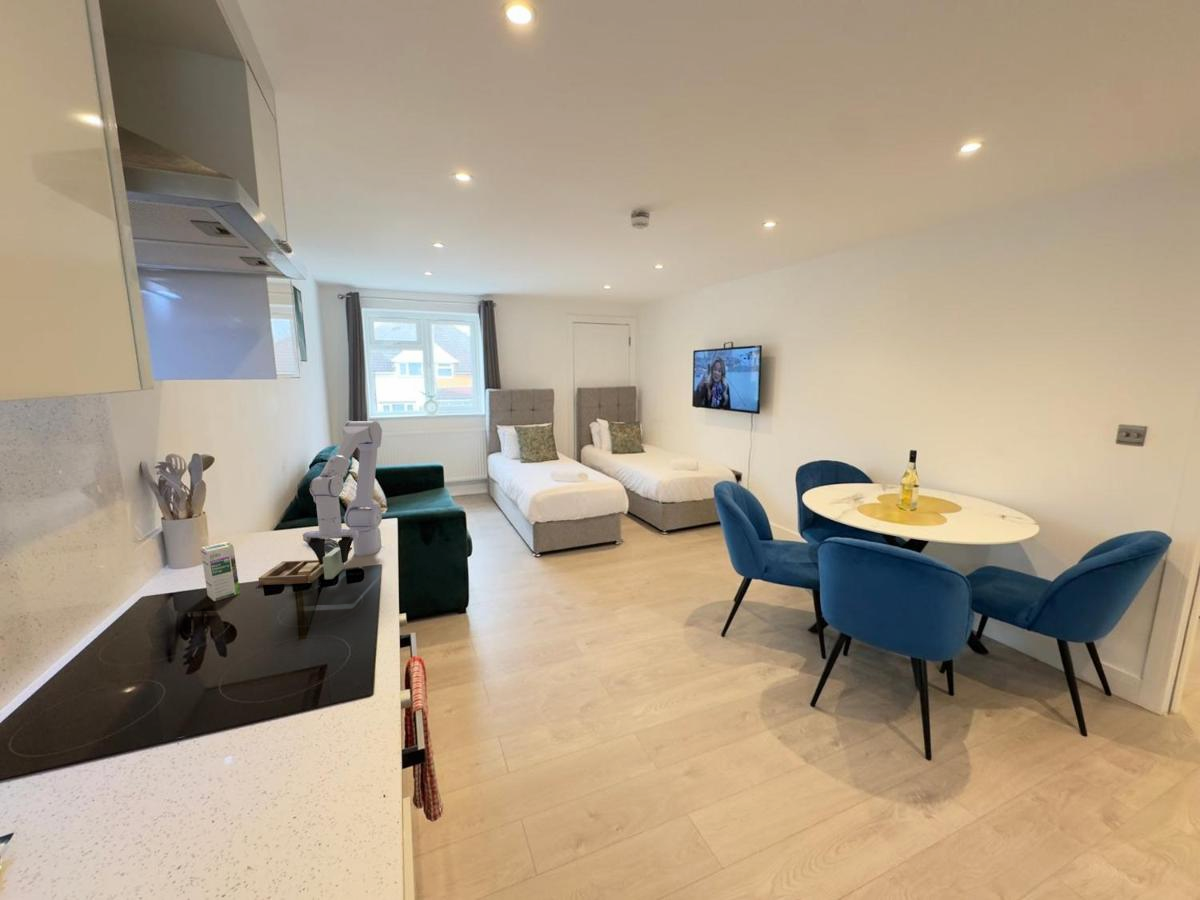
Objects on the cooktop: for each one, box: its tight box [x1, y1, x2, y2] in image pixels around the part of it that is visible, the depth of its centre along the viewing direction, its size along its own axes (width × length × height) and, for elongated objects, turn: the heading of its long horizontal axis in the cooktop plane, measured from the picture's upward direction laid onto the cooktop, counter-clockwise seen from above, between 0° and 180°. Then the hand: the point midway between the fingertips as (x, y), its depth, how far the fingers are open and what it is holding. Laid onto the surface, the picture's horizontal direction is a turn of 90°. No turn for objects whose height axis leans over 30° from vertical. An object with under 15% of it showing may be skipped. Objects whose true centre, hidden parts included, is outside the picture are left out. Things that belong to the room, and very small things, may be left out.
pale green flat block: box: [323, 547, 345, 580], centre depth 138 cm, size 8×2×7 cm, turn 6°
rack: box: [258, 559, 324, 586], centre depth 138 cm, size 12×14×3 cm
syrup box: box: [199, 541, 241, 602], centre depth 125 cm, size 6×6×14 cm
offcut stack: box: [298, 562, 321, 579], centre depth 138 cm, size 7×4×2 cm, turn 5°
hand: (333, 562), depth 138 cm, fingers open, 6 cm apart
